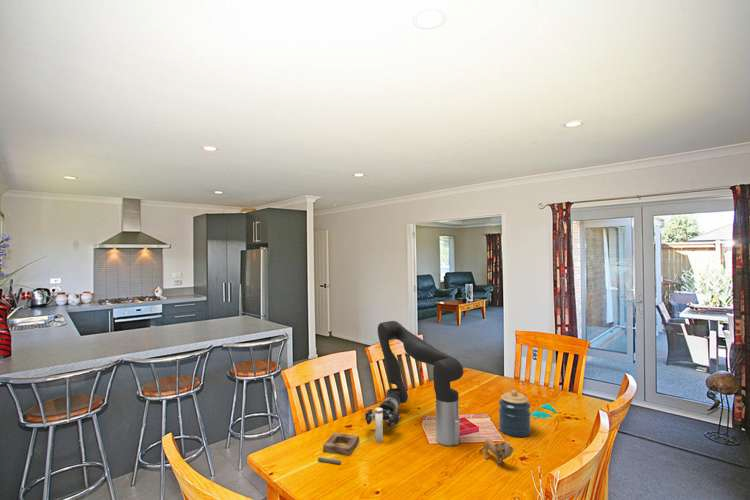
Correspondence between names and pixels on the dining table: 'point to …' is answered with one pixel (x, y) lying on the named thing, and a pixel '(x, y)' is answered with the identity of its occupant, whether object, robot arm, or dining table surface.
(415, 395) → the dining table surface
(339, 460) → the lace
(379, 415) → the slim white bottle
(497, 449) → the lion figurine
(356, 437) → the brown square frame
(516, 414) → the canister
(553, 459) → the dining table surface
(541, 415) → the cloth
